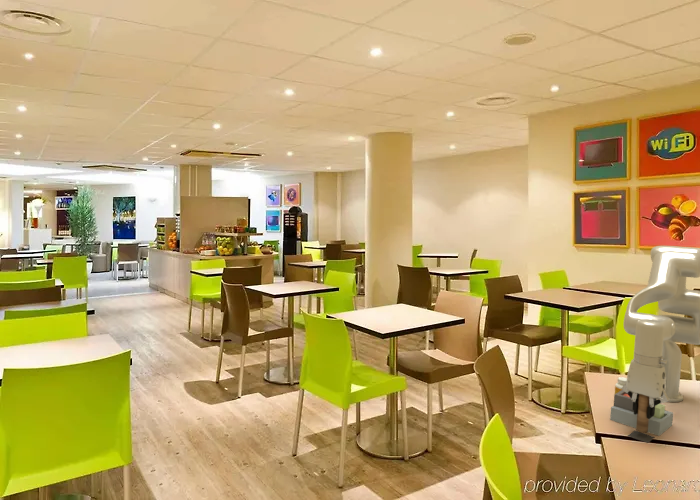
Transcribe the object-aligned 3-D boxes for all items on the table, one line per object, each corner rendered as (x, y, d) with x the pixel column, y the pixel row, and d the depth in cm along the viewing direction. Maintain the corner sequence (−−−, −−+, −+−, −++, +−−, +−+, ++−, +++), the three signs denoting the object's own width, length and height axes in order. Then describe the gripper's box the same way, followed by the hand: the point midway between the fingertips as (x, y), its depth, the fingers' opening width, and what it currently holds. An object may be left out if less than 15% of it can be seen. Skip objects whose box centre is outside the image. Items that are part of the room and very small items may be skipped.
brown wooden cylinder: (638, 427, 164) (641, 385, 162) (649, 430, 162) (652, 388, 160) (634, 430, 162) (637, 388, 160) (645, 434, 159) (648, 391, 158)
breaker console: (624, 412, 181) (626, 387, 180) (672, 426, 170) (674, 400, 169) (610, 421, 173) (611, 395, 172) (658, 437, 162) (661, 410, 161)
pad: (634, 432, 166) (634, 430, 166) (654, 438, 161) (655, 437, 161) (627, 437, 162) (627, 435, 162) (647, 444, 157) (647, 442, 157)
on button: (648, 415, 172) (649, 400, 171) (663, 419, 168) (665, 405, 168) (643, 418, 169) (644, 404, 168) (658, 423, 165) (660, 408, 165)
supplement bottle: (618, 400, 192) (620, 375, 191) (633, 405, 188) (635, 379, 186) (610, 403, 189) (612, 378, 188) (625, 408, 185) (627, 382, 184)
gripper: (681, 363, 155) (676, 420, 157) (624, 350, 167) (620, 403, 170) (673, 369, 150) (668, 428, 152) (614, 355, 163) (611, 410, 165)
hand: (643, 414), depth 161 cm, fingers closed on brown wooden cylinder, 3 cm apart
